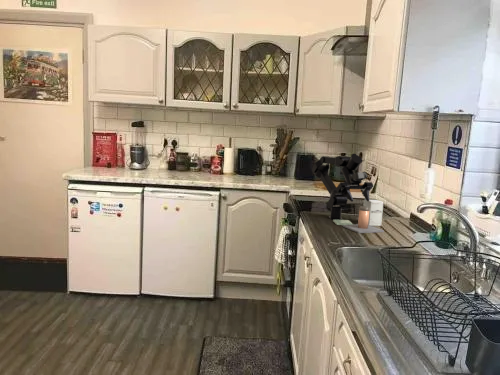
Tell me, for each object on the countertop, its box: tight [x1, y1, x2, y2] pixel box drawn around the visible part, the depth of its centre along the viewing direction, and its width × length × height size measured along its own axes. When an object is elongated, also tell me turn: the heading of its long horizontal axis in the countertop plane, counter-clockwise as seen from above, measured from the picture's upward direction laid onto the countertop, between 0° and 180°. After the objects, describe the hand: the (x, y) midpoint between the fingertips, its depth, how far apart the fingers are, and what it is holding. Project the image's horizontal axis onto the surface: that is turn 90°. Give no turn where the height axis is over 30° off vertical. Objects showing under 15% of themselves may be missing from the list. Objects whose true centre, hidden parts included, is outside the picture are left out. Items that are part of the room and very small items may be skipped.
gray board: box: [342, 223, 385, 234], centre depth 214 cm, size 14×14×1 cm
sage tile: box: [332, 219, 354, 226], centre depth 226 cm, size 8×8×1 cm
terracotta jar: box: [357, 206, 370, 229], centre depth 213 cm, size 5×5×10 cm
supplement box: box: [363, 199, 384, 227], centre depth 225 cm, size 7×7×13 cm
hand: (360, 201), depth 216 cm, fingers open, 9 cm apart
